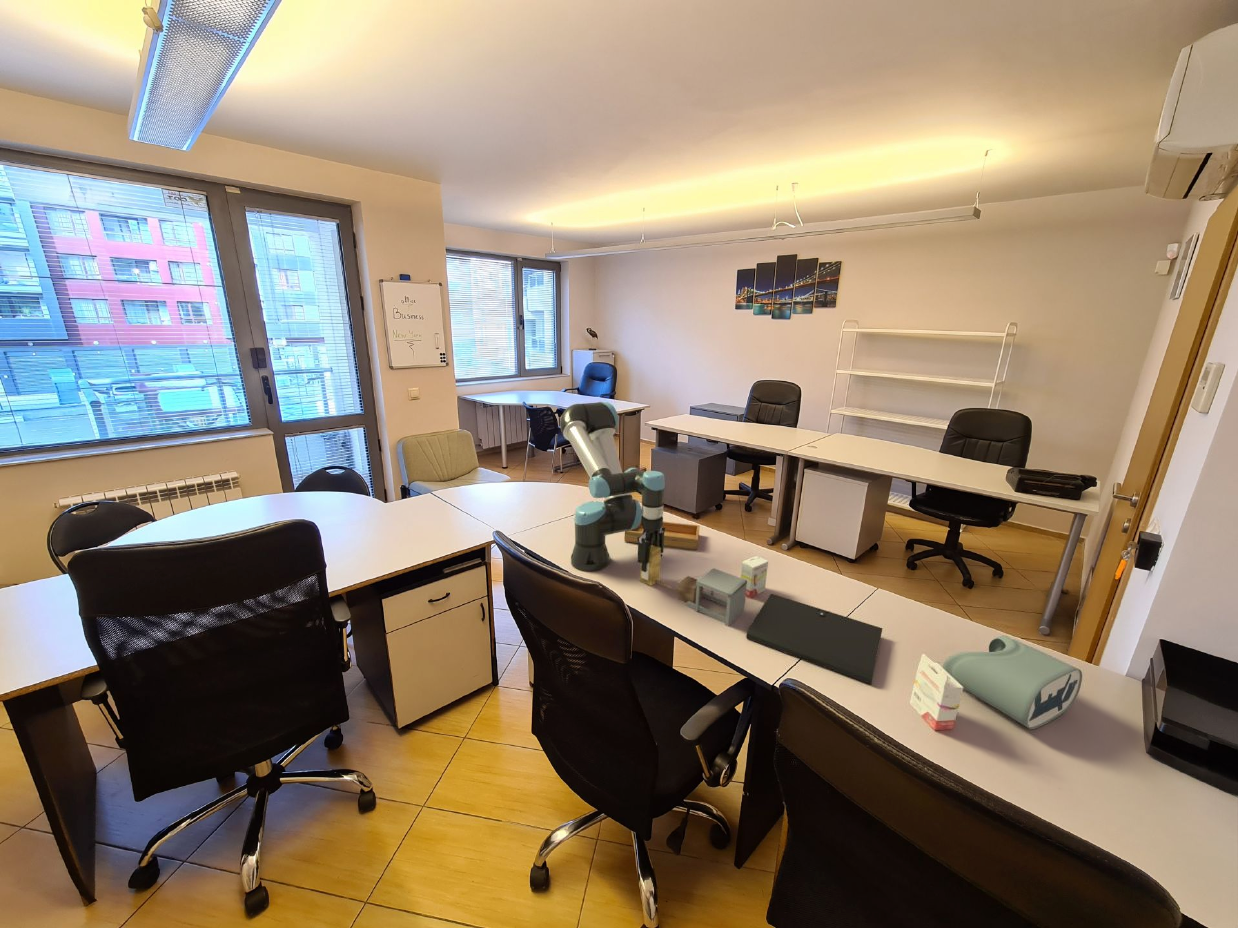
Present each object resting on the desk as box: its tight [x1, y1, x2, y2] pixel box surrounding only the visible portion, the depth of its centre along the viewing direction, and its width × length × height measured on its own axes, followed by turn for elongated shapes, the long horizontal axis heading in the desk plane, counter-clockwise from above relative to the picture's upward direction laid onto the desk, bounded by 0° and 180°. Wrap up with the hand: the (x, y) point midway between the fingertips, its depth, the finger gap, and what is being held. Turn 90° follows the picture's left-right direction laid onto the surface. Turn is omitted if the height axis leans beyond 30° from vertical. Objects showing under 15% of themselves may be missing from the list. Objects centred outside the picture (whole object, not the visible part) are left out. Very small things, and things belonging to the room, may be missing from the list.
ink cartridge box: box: [909, 653, 964, 731], centre depth 109 cm, size 9×5×15 cm, turn 5°
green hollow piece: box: [942, 635, 1083, 730], centre depth 116 cm, size 22×19×13 cm
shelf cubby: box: [686, 567, 747, 627], centre depth 150 cm, size 16×11×11 cm
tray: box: [624, 520, 701, 551], centre depth 201 cm, size 31×15×6 cm, turn 77°
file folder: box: [745, 593, 883, 685], centre depth 138 cm, size 33×4×24 cm
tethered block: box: [639, 545, 704, 604], centre depth 161 cm, size 22×6×13 cm, turn 50°
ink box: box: [740, 555, 769, 599], centre depth 160 cm, size 9×5×12 cm, turn 126°
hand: (650, 575), depth 167 cm, fingers closed on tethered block, 5 cm apart
